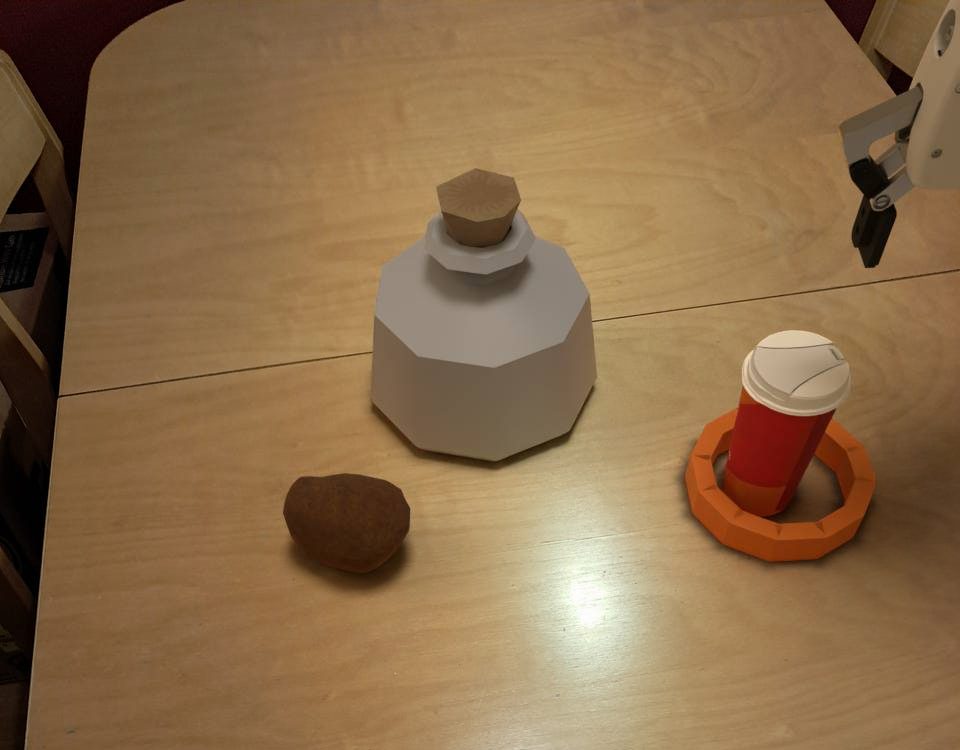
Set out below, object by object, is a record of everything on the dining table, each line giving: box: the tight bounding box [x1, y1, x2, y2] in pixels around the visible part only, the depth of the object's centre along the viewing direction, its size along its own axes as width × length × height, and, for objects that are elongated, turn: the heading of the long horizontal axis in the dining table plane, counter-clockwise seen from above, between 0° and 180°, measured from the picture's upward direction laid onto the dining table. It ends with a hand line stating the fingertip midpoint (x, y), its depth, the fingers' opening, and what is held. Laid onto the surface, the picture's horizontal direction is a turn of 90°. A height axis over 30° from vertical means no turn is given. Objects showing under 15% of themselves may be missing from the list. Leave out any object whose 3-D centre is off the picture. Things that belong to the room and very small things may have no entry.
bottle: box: [370, 167, 598, 463], centre depth 79 cm, size 20×20×19 cm
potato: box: [282, 472, 411, 574], centre depth 74 cm, size 7×10×8 cm
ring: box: [684, 407, 878, 562], centre depth 79 cm, size 14×14×3 cm
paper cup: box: [722, 329, 852, 517], centre depth 74 cm, size 8×8×14 cm
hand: (942, 250), depth 61 cm, fingers open, 9 cm apart
